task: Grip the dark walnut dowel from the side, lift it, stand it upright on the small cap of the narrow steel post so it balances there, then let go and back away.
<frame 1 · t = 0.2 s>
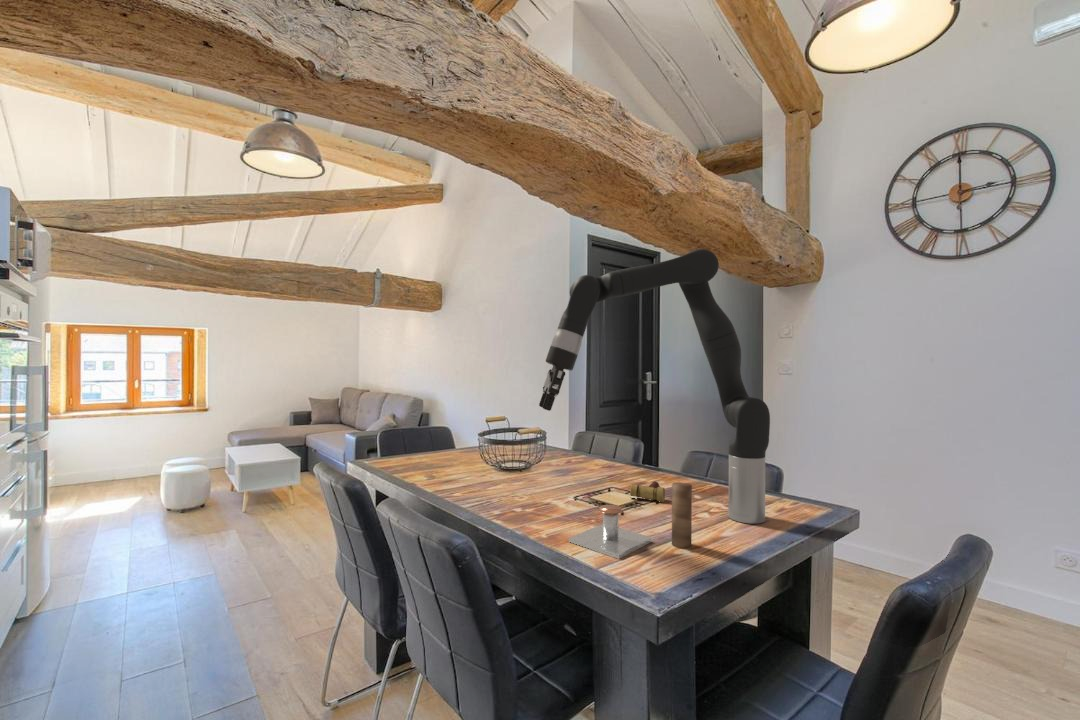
hand: (544, 408, 125), 30 cm above the table, tool tilted 20°, fingers open, 8 cm apart
steel post: (610, 541, 114), on the table
olive strapped bedroll: (651, 494, 157), on the table
walnut dowel: (681, 544, 112), on the table
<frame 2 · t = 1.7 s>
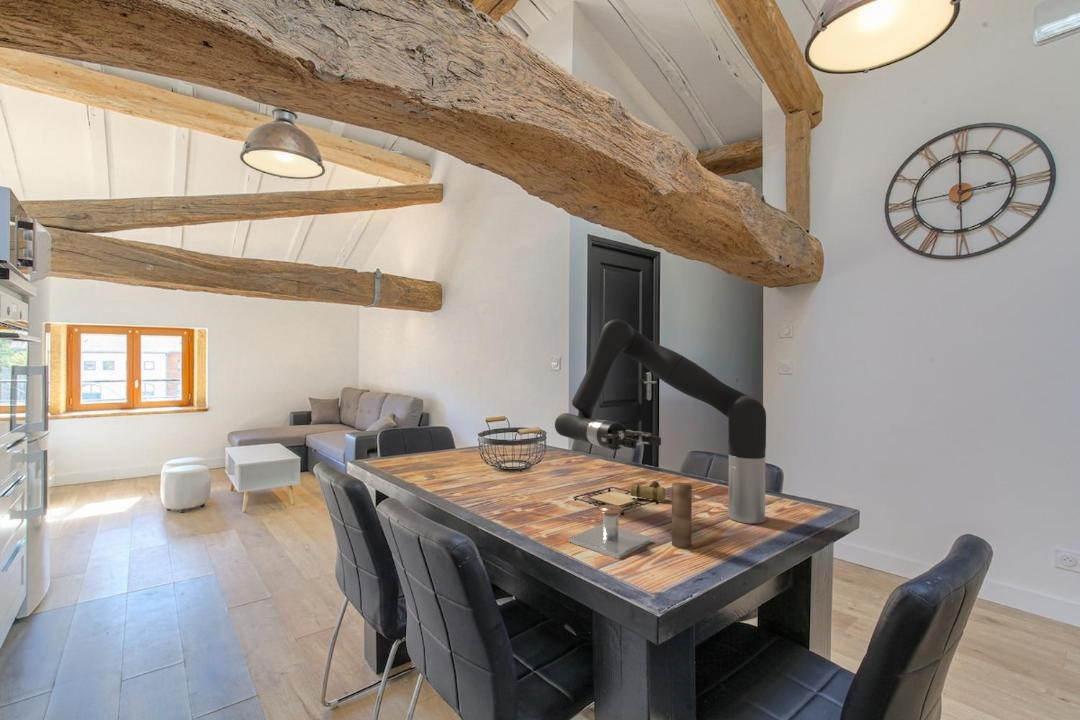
hand: (648, 443, 122), 22 cm above the table, tool horizontal, fingers open, 8 cm apart
nothing on the table moved.
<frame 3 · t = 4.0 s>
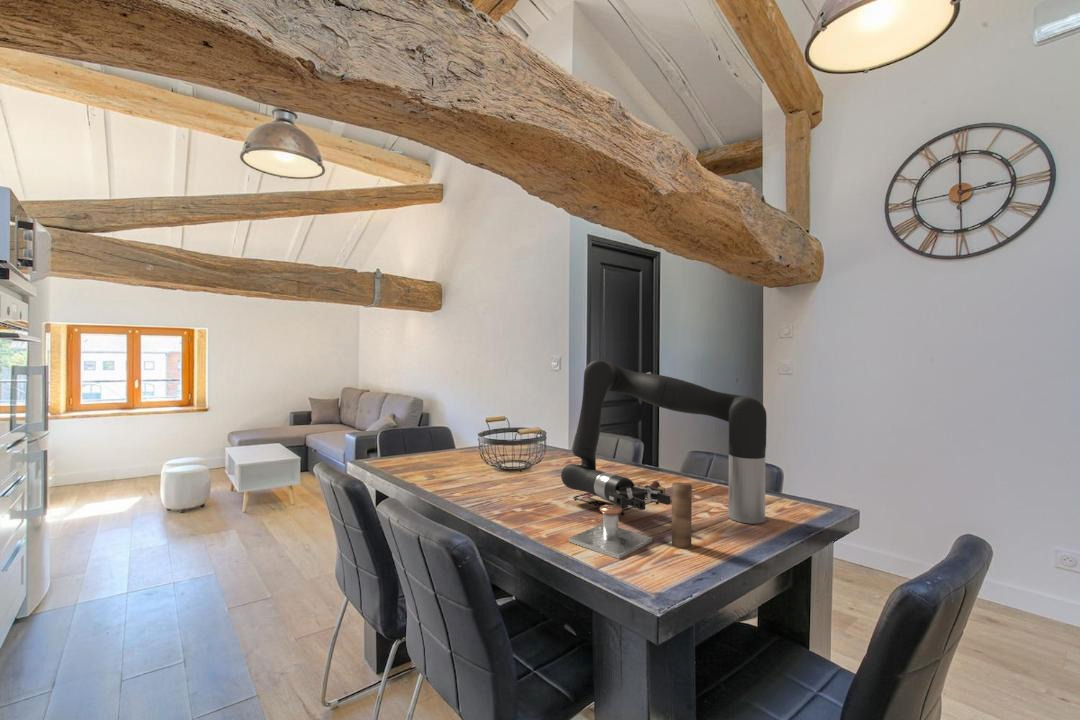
hand: (657, 503, 119), 8 cm above the table, tool horizontal, fingers open, 8 cm apart
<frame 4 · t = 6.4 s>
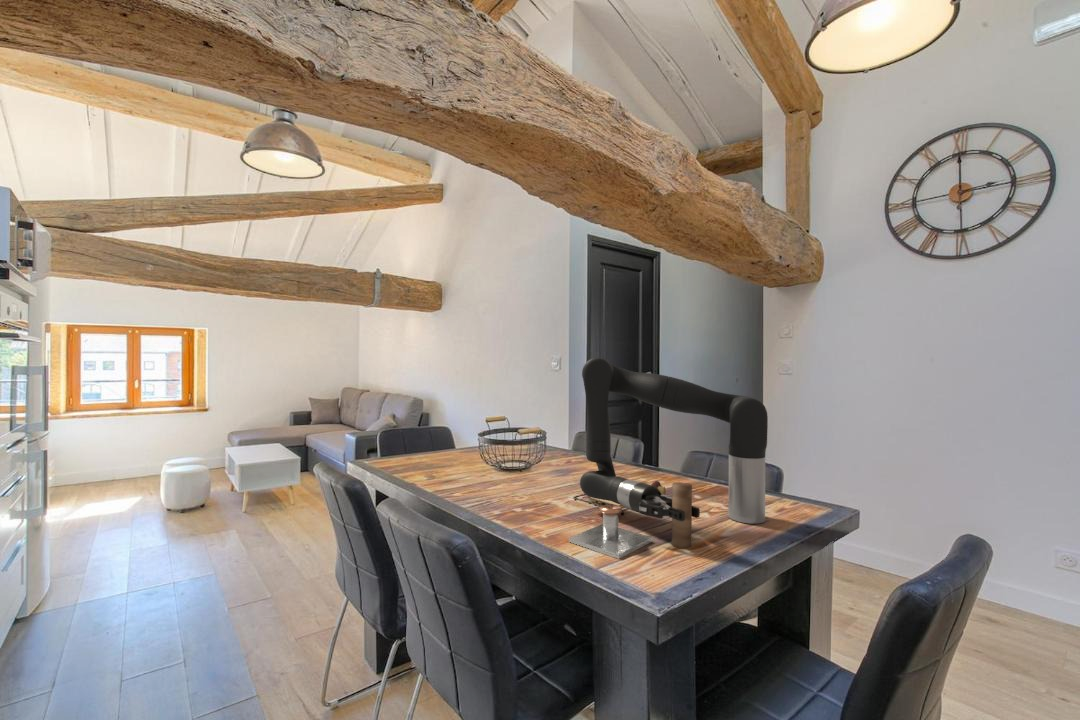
hand: (691, 514, 110), 8 cm above the table, tool horizontal, fingers closed on walnut dowel, 4 cm apart
walnut dowel: (681, 544, 112), on the table, touching gripper
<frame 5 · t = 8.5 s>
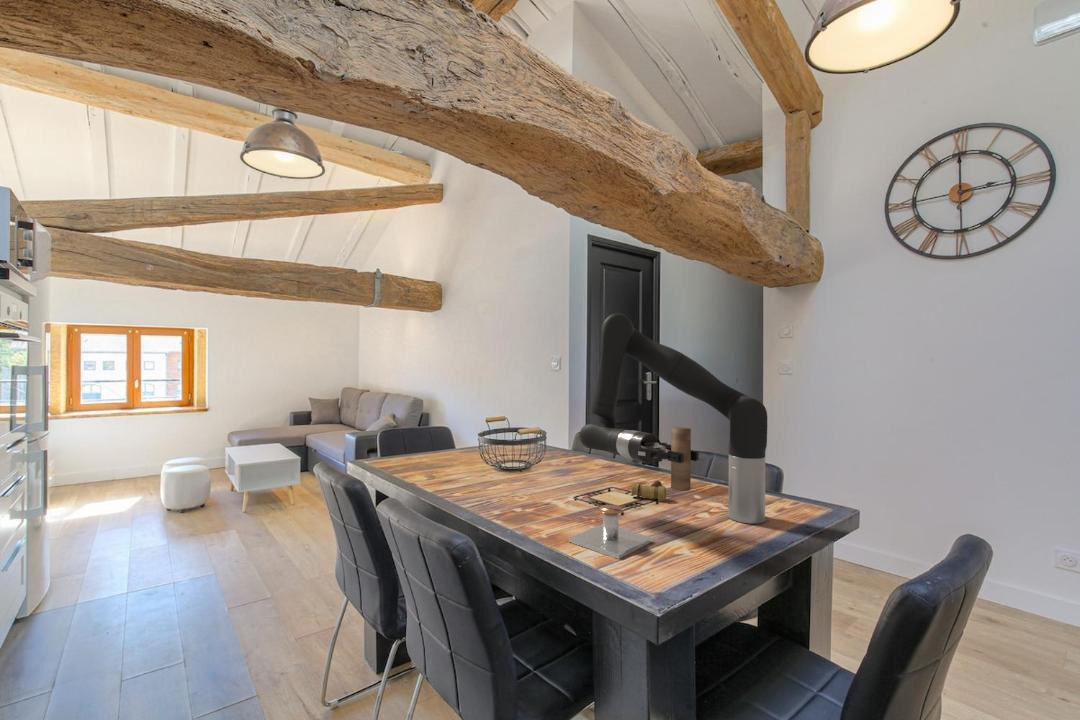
hand: (690, 457, 110), 21 cm above the table, tool horizontal, fingers closed on walnut dowel, 4 cm apart
walnut dowel: (680, 488, 113), point 13 cm above the table, touching gripper
when the fingers open (17 cm above the table, at t = 11.0 s): walnut dowel drops 1 cm, resting on steel post.
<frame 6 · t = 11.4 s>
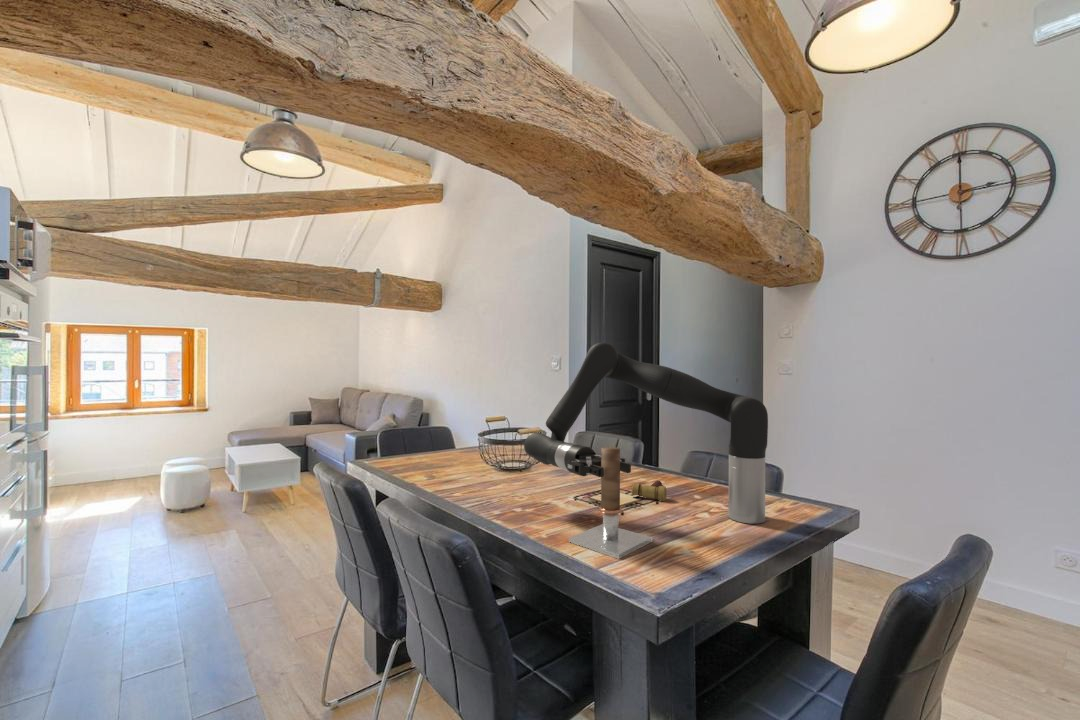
hand: (616, 470, 112), 17 cm above the table, tool horizontal, fingers open, 8 cm apart
walnut dowel: (610, 507, 114), point 8 cm above the table, touching steel post
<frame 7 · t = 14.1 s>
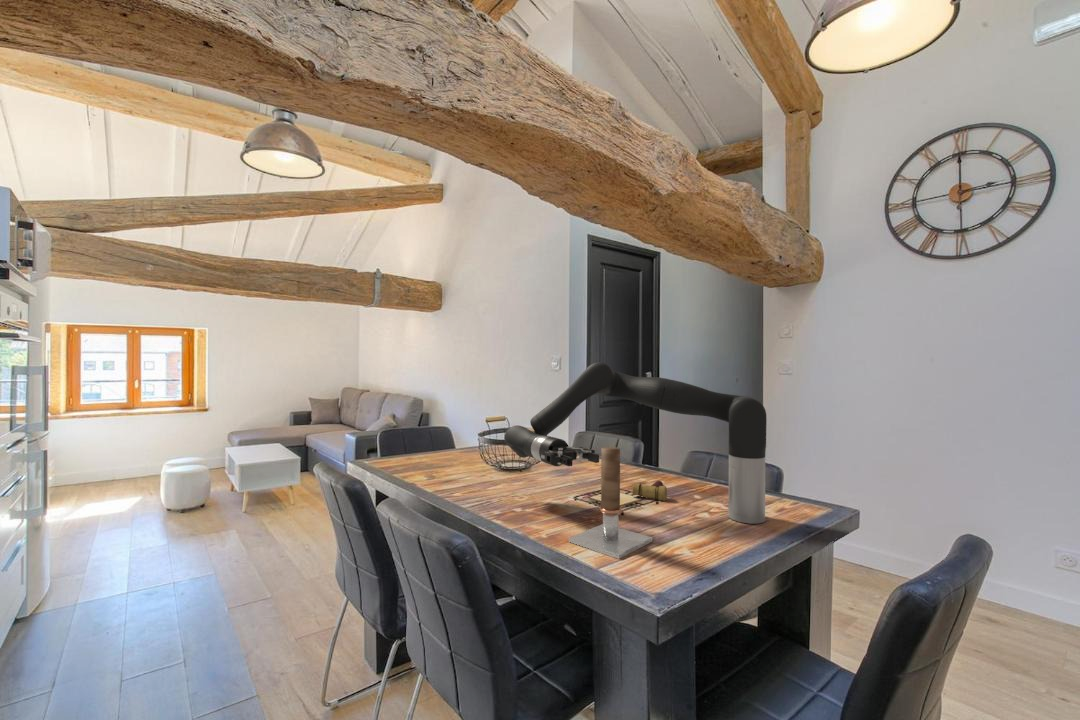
hand: (585, 460, 122), 18 cm above the table, tool horizontal, fingers open, 8 cm apart
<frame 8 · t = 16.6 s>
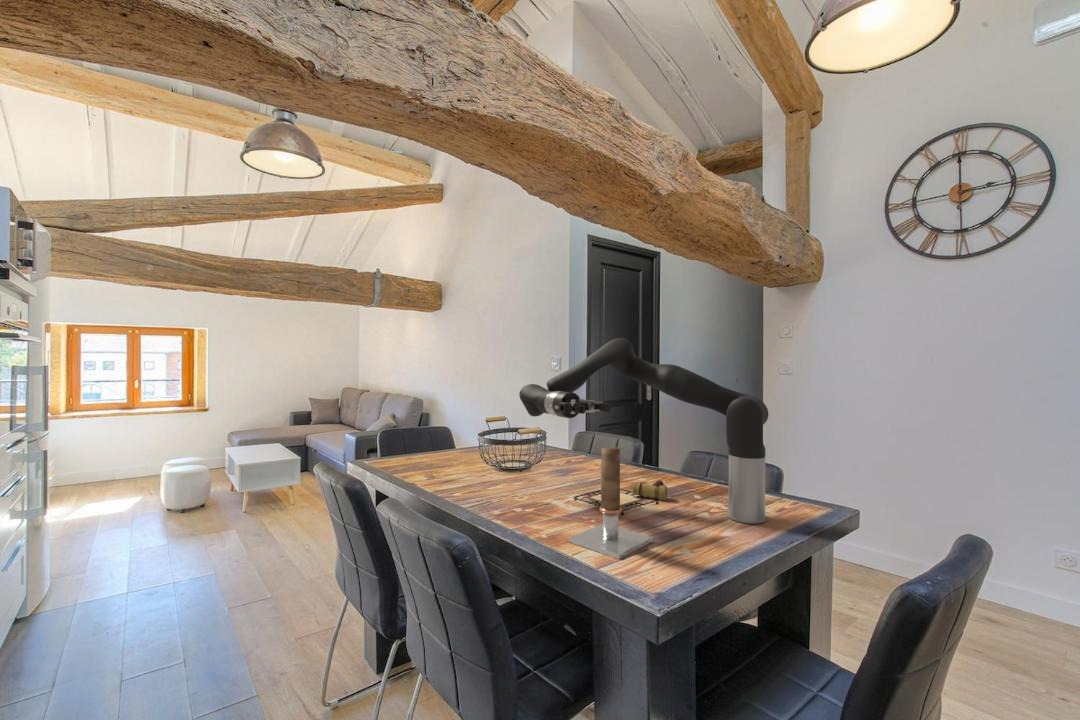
hand: (596, 408, 129), 30 cm above the table, tool horizontal, fingers open, 8 cm apart
at the end: walnut dowel 0.1 cm off-centre on the steel post, point 8.0 cm above the steel post's base; walnut dowel tilted 0°; the gripper is holding nothing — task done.
